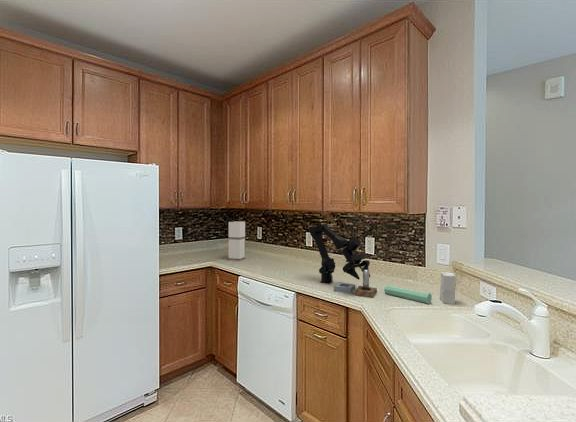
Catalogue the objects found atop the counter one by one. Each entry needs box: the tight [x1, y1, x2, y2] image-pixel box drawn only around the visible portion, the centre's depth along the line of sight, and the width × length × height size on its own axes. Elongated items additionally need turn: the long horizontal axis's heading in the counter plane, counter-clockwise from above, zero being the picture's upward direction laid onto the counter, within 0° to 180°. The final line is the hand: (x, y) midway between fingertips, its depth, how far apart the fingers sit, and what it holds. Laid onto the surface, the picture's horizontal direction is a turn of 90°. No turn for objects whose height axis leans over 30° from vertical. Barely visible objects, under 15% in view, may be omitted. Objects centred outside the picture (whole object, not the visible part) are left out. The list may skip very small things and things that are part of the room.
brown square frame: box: [354, 285, 378, 299], centre depth 170 cm, size 10×10×3 cm
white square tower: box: [228, 220, 246, 262], centre depth 275 cm, size 11×11×35 cm
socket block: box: [333, 281, 356, 295], centre depth 178 cm, size 10×10×3 cm
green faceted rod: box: [383, 285, 433, 305], centre depth 163 cm, size 6×6×25 cm
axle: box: [362, 268, 370, 291], centre depth 170 cm, size 3×3×14 cm
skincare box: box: [439, 271, 457, 305], centre depth 158 cm, size 8×6×15 cm
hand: (364, 278), depth 170 cm, fingers open, 9 cm apart
